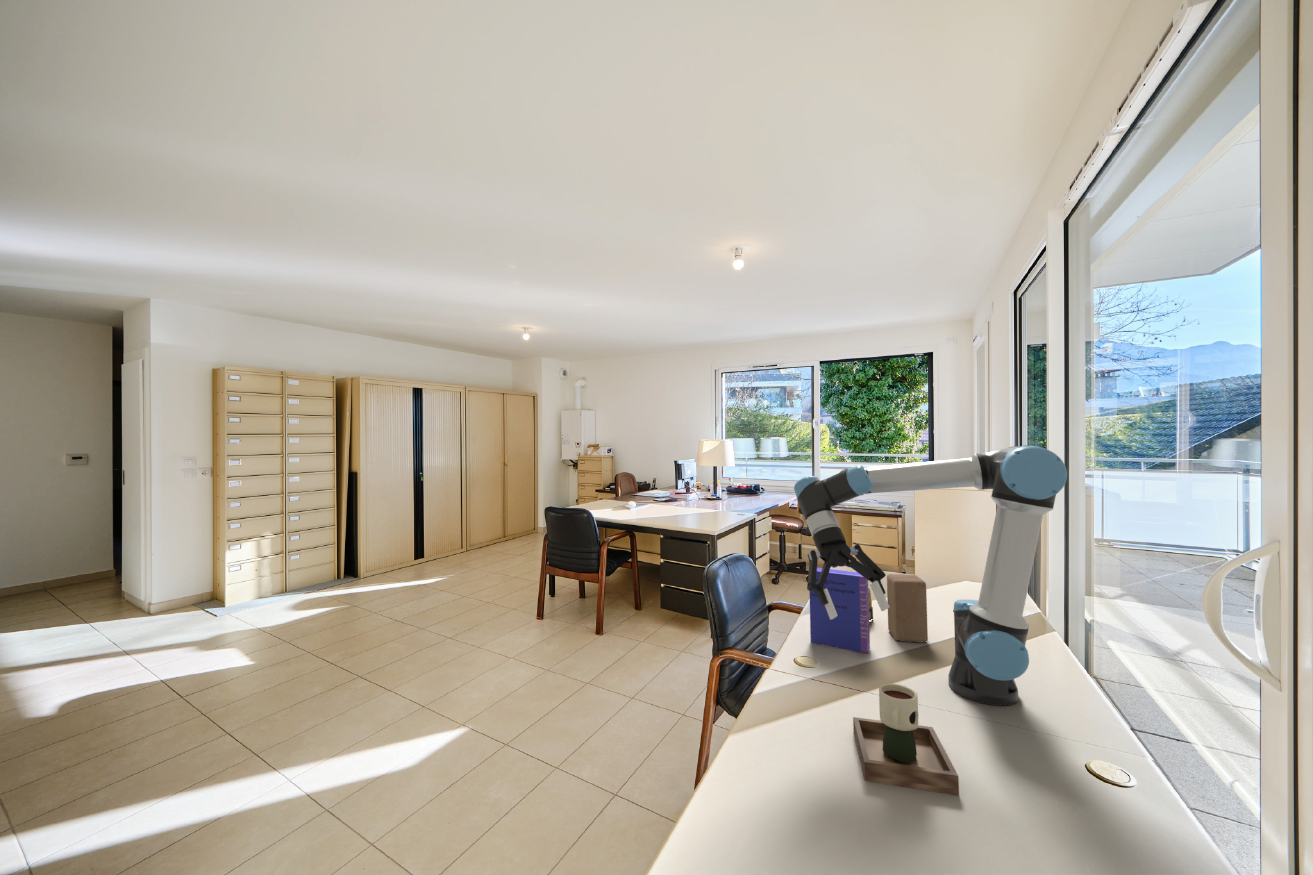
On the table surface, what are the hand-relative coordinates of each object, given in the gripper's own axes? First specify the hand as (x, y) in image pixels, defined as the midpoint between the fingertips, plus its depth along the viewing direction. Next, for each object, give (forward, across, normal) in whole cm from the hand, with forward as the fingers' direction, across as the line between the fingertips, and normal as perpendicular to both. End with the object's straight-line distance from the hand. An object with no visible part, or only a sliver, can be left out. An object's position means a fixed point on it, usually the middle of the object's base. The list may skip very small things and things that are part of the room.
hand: (860, 613), depth 113 cm
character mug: (+28, +4, -1) cm, 28 cm away
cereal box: (-1, -17, -48) cm, 51 cm away
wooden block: (-1, -43, -50) cm, 66 cm away
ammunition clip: (-9, -36, -62) cm, 72 cm away
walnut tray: (+29, +3, -2) cm, 29 cm away
